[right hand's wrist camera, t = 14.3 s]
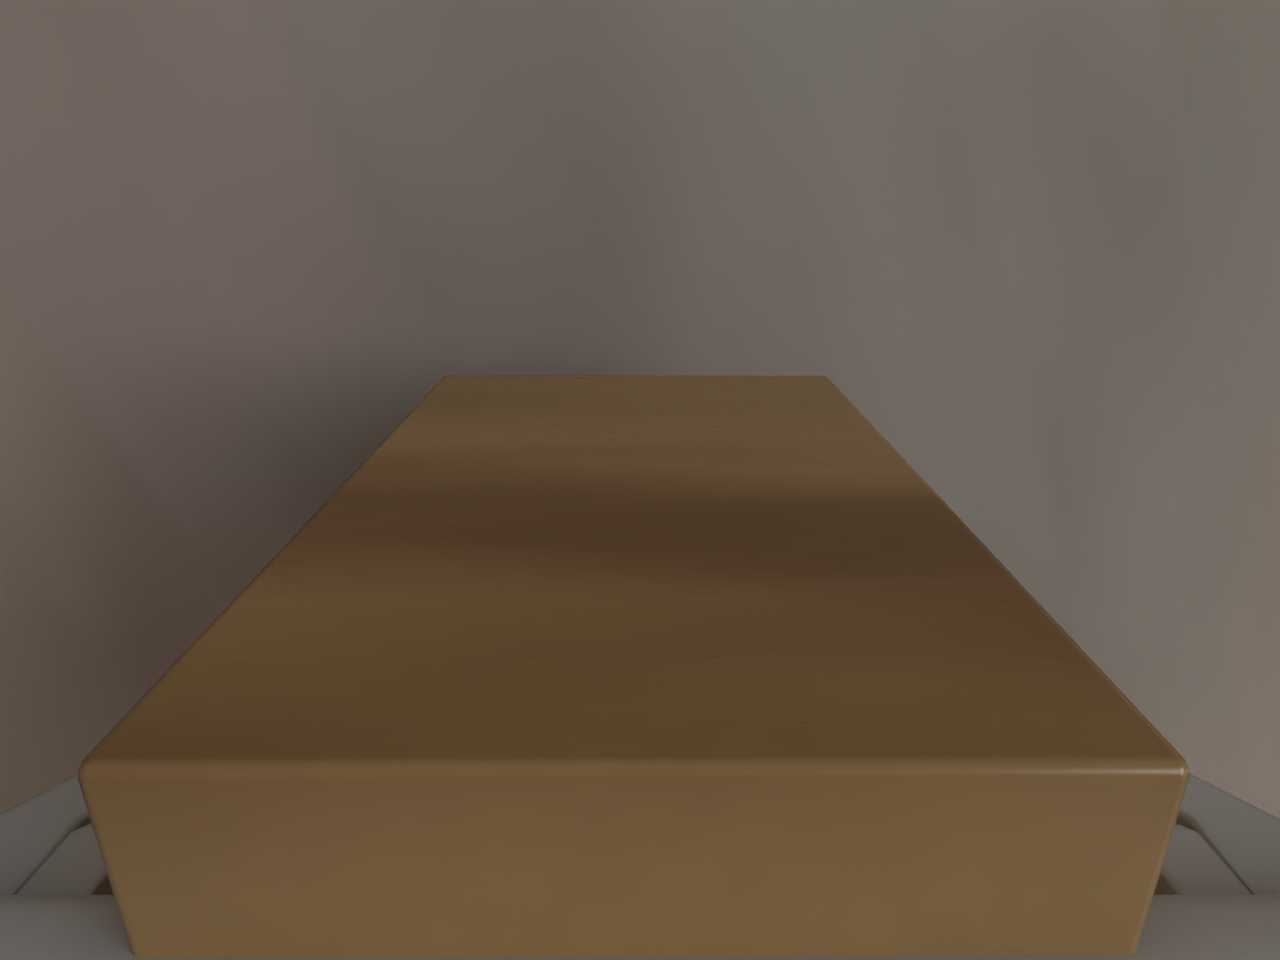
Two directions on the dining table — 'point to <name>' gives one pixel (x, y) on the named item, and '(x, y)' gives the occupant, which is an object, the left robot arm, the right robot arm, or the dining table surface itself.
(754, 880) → the box
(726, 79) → the dining table surface
